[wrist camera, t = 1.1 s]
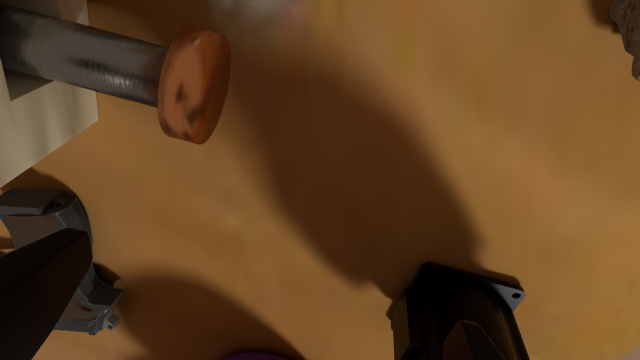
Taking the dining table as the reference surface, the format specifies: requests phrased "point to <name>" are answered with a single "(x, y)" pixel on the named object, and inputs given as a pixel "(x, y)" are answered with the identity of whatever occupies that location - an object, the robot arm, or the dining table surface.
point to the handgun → (44, 219)
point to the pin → (125, 66)
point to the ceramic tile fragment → (629, 29)
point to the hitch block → (41, 103)
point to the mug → (254, 356)
